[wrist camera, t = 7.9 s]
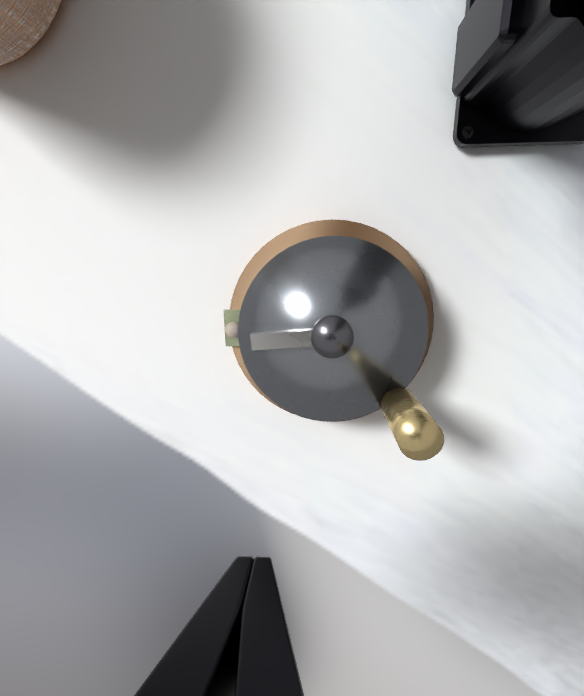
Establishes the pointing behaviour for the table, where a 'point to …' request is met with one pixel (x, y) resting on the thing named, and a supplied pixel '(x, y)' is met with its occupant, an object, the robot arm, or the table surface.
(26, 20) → the planter
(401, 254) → the stand
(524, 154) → the table surface
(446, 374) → the table surface
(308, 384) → the dial
